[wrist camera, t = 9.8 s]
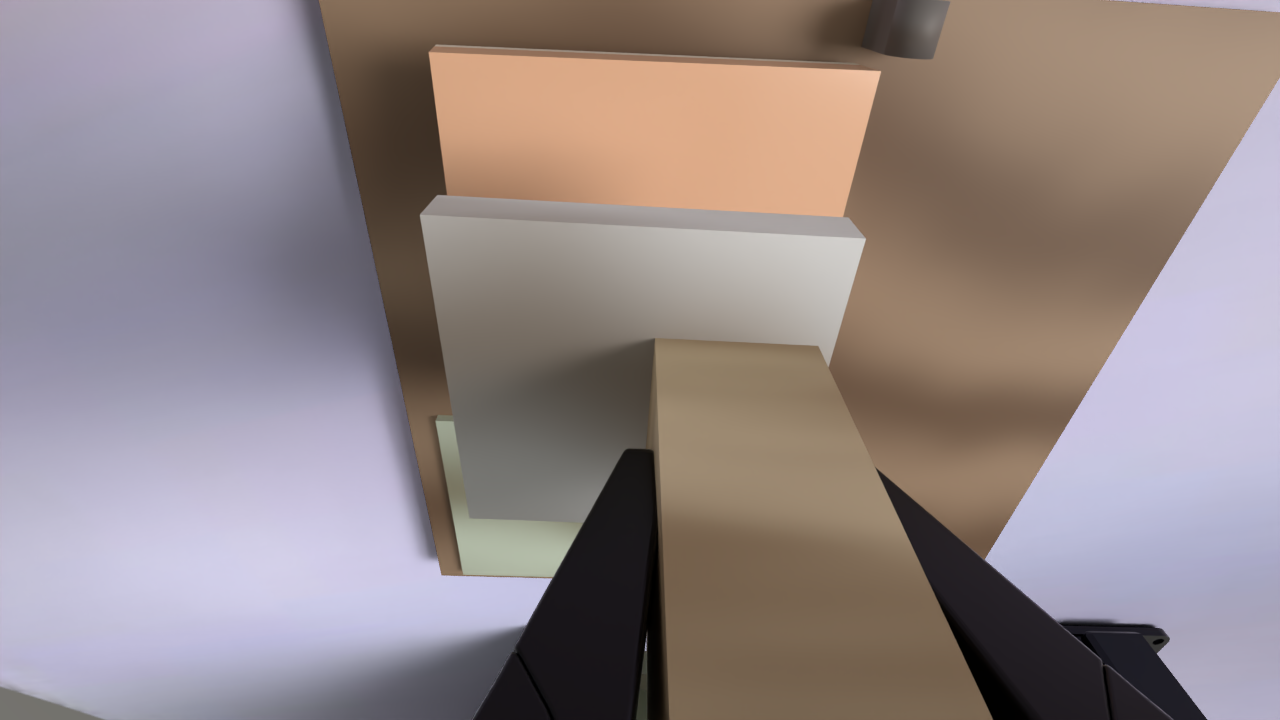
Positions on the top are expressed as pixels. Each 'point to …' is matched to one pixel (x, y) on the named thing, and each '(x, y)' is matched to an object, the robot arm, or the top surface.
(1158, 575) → the top surface
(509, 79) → the tile
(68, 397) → the top surface
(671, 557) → the stamp
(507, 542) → the board
